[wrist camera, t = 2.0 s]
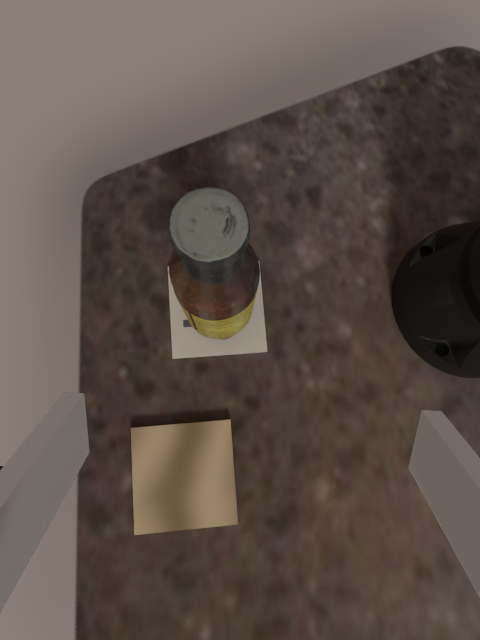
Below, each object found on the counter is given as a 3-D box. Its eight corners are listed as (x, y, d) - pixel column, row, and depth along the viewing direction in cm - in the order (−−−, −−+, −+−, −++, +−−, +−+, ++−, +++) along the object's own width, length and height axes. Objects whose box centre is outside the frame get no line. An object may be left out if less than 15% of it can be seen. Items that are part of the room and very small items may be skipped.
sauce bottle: (263, 306, 40) (309, 224, 20) (221, 355, 39) (227, 318, 19) (212, 263, 40) (209, 143, 21) (169, 310, 39) (124, 231, 20)
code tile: (258, 262, 41) (259, 261, 41) (266, 351, 39) (267, 351, 39) (168, 267, 40) (167, 266, 40) (172, 358, 39) (172, 358, 38)
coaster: (230, 419, 38) (230, 419, 38) (237, 522, 37) (238, 524, 36) (132, 427, 38) (130, 428, 37) (135, 532, 36) (134, 535, 35)
